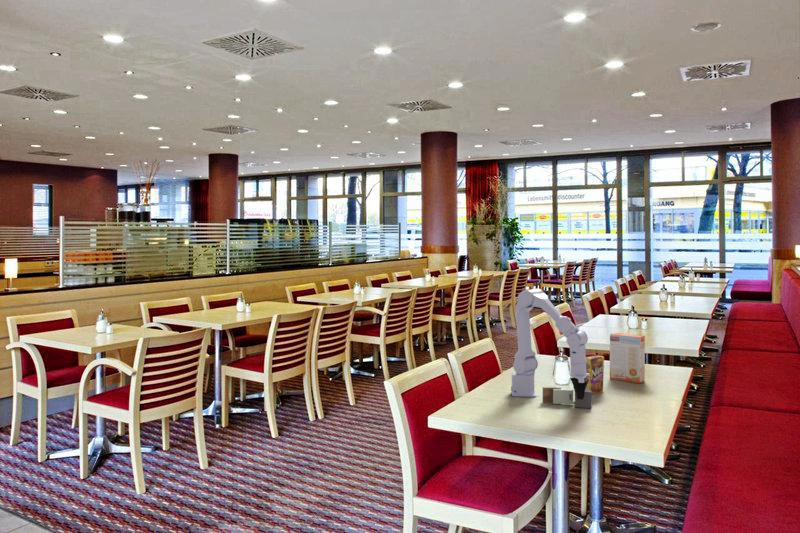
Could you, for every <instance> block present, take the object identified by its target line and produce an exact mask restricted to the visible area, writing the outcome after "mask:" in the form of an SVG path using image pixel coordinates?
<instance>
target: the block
mask: <svg viewBox="0 0 800 533" xmlns="http://www.w3.org/2000/svg"><path fill="white" fill-rule="evenodd" d="M592 395H593V394H592V392H591V390H585V393H584V398H583V399H577V395H576V390H575V391H574V402H575V404H574V407H575V408H585V409H592V407H593V406H592V403H593V402H592V400H593V399H592Z"/></svg>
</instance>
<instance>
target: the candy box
mask: <svg viewBox="0 0 800 533" xmlns="http://www.w3.org/2000/svg"><path fill="white" fill-rule="evenodd" d="M604 366H605V356H603V355H599V354H597V355H590V356H586V373H589V374H590V376H586V377H585V381H588V384H587V386H586V388H585V390H591V392H592V395H596V394H600V393H604V370H605V367H604Z"/></svg>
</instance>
